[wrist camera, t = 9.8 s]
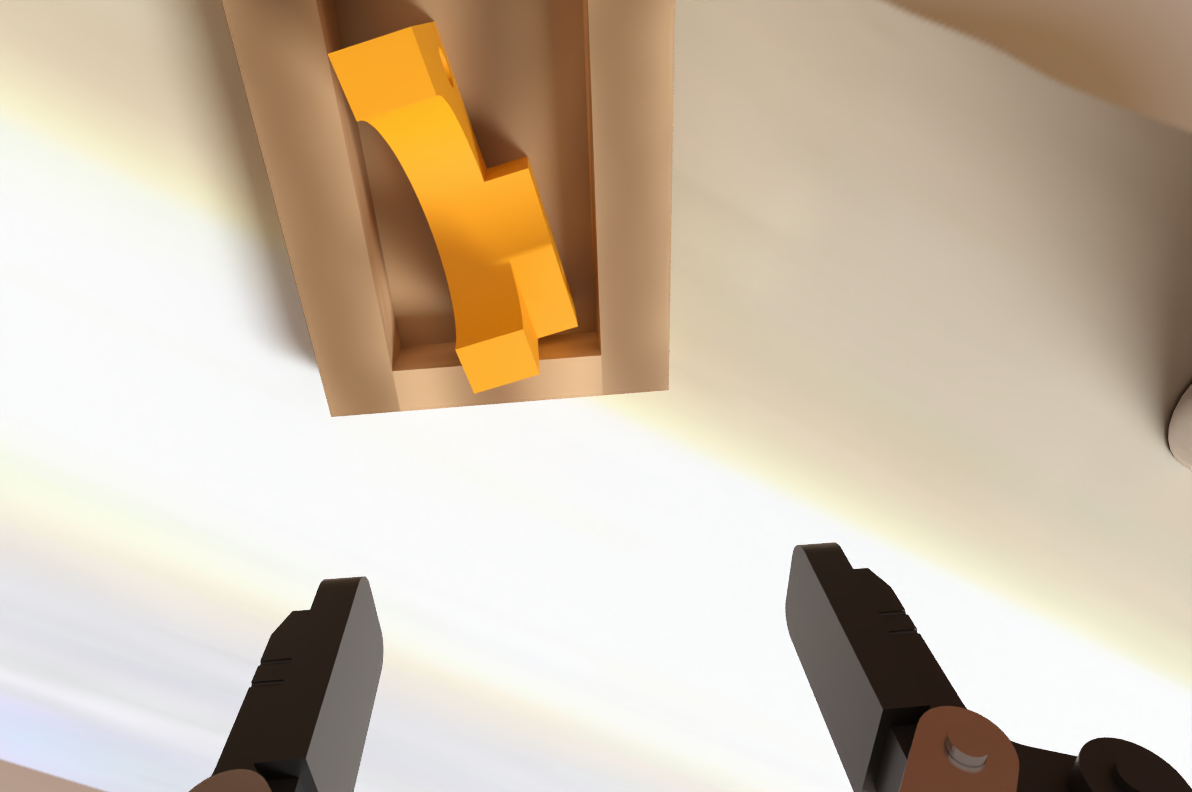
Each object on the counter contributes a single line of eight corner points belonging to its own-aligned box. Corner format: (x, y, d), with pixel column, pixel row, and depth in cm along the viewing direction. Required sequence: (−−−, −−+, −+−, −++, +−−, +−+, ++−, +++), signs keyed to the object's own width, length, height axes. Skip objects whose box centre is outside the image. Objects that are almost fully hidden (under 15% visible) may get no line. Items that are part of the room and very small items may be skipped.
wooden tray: (660, -117, 25) (748, -191, 15) (657, 360, 34) (710, 498, 25) (227, -103, 24) (32, -172, 14) (346, 384, 33) (276, 537, 24)
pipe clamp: (573, 297, 32) (584, 361, 26) (482, 324, 32) (474, 393, 26) (479, 6, 26) (468, 7, 20) (369, 42, 26) (327, 53, 20)
